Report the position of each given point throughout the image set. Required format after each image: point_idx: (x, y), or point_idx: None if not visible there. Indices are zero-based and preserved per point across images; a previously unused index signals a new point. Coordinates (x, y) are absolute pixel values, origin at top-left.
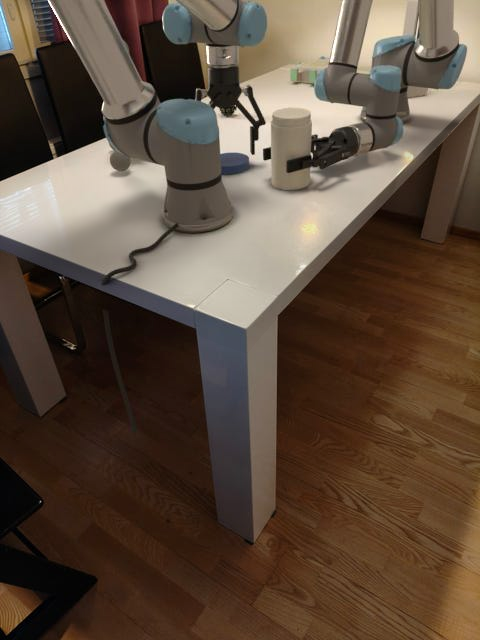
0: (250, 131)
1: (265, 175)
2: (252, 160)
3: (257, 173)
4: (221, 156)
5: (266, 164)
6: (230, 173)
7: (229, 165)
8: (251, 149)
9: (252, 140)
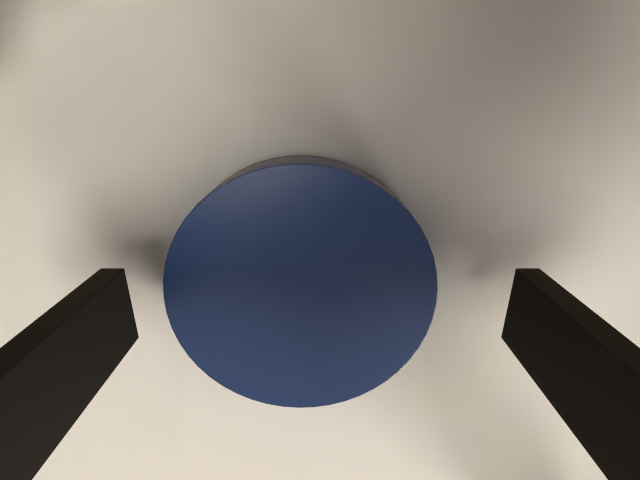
0: (14, 464)
1: (71, 71)
2: (160, 344)
3: (130, 126)
4: (348, 359)
5: (71, 265)
6: (315, 157)
7: (317, 182)
8: (109, 308)
9: (39, 336)
